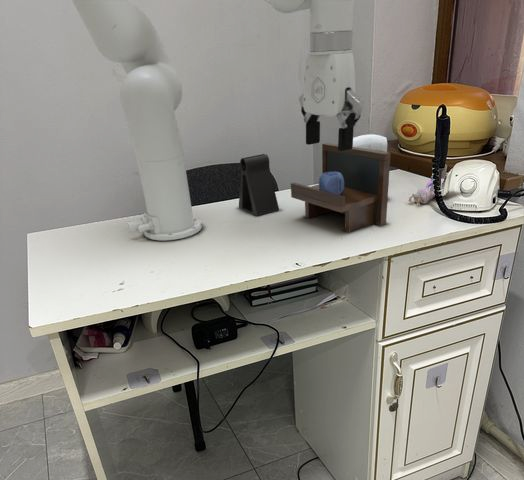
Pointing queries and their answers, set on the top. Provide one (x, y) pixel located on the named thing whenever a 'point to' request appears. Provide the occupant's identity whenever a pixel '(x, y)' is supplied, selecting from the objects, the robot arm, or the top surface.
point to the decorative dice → (331, 182)
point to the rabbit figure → (425, 193)
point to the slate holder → (351, 187)
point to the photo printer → (371, 142)
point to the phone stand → (257, 186)
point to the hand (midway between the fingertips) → (328, 146)
